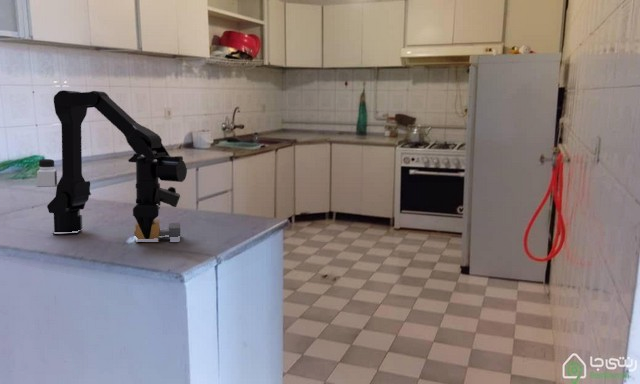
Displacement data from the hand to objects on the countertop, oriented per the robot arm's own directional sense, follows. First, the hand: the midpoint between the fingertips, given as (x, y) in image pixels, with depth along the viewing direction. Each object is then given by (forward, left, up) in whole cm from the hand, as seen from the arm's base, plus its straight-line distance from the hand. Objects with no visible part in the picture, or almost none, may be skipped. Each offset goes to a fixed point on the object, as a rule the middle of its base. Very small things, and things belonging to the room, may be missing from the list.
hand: (147, 235), depth 140 cm
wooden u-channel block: (0, 0, -1) cm, 1 cm away
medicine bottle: (-49, +111, -2) cm, 121 cm away
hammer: (+3, 0, -1) cm, 3 cm away
